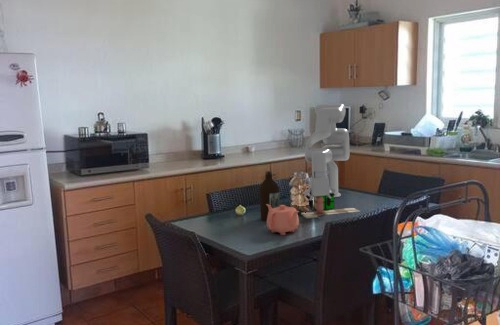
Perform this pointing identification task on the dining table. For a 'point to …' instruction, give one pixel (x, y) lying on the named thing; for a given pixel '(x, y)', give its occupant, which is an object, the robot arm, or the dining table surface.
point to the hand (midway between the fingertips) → (319, 206)
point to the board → (328, 212)
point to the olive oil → (268, 195)
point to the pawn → (319, 205)
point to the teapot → (282, 219)
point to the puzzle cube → (325, 202)
